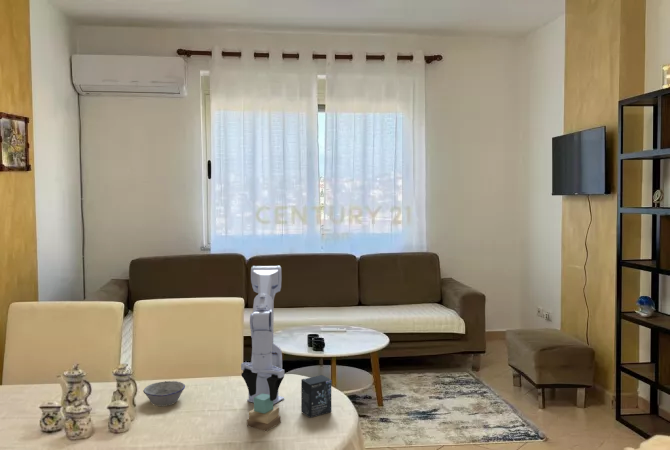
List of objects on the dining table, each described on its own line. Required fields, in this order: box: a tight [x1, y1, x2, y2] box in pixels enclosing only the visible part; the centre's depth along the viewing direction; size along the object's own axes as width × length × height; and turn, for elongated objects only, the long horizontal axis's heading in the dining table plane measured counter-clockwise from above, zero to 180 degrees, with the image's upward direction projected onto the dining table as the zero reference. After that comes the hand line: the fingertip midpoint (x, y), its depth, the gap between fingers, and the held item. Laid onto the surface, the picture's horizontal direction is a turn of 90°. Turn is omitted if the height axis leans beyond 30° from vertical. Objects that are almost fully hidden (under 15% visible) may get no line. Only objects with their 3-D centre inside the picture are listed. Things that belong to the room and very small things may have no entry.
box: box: [300, 374, 332, 418], centre depth 178 cm, size 8×6×11 cm
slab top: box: [248, 406, 280, 424], centre depth 170 cm, size 6×6×2 cm
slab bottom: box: [246, 415, 282, 432], centre depth 170 cm, size 7×7×2 cm
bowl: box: [142, 380, 186, 407], centre depth 188 cm, size 13×13×5 cm
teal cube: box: [253, 393, 274, 414], centre depth 169 cm, size 4×4×4 cm
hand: (262, 397), depth 169 cm, fingers open, 7 cm apart
